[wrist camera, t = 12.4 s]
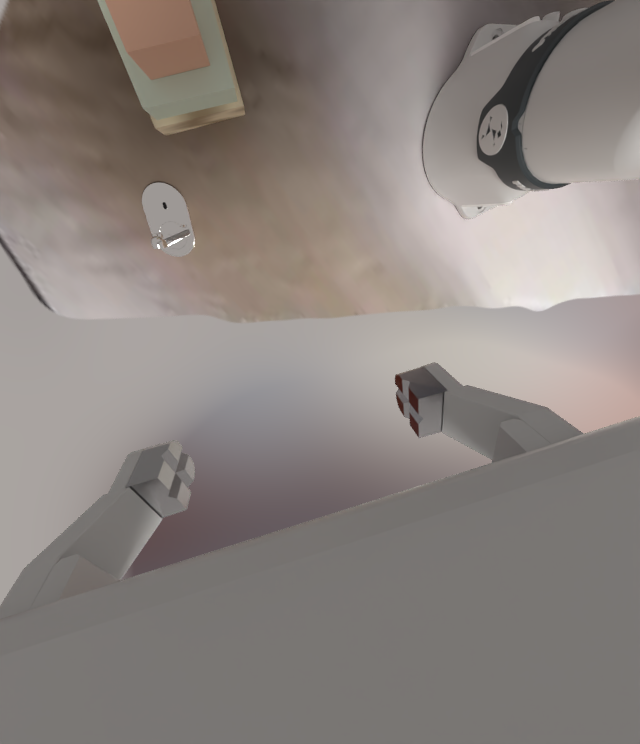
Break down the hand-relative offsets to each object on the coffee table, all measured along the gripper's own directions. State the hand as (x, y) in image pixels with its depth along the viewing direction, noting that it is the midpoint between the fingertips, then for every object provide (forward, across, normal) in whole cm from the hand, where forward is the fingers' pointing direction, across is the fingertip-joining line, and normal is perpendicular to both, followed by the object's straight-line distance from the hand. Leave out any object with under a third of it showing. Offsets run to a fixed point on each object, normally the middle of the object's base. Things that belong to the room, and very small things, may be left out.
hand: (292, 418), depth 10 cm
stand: (+34, +10, -7) cm, 36 cm away
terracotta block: (+26, +2, -19) cm, 32 cm away
